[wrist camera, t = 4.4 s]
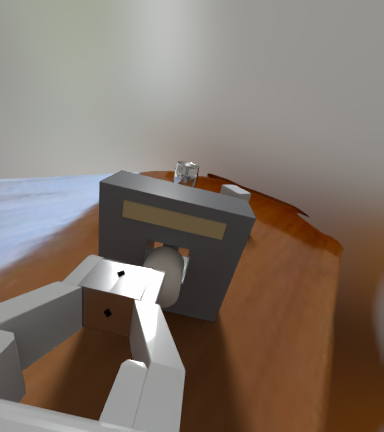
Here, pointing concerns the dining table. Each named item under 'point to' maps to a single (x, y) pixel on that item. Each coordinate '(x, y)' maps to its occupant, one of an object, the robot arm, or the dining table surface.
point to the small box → (235, 192)
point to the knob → (167, 271)
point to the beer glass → (186, 173)
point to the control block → (176, 234)
